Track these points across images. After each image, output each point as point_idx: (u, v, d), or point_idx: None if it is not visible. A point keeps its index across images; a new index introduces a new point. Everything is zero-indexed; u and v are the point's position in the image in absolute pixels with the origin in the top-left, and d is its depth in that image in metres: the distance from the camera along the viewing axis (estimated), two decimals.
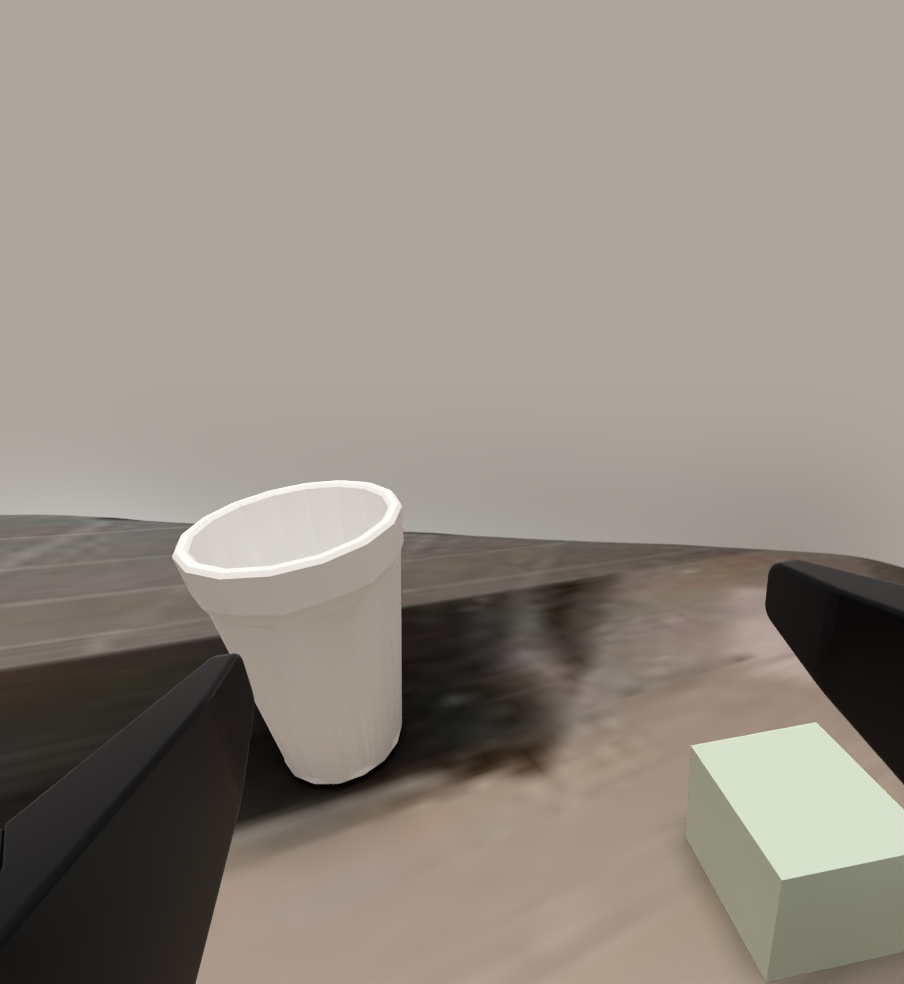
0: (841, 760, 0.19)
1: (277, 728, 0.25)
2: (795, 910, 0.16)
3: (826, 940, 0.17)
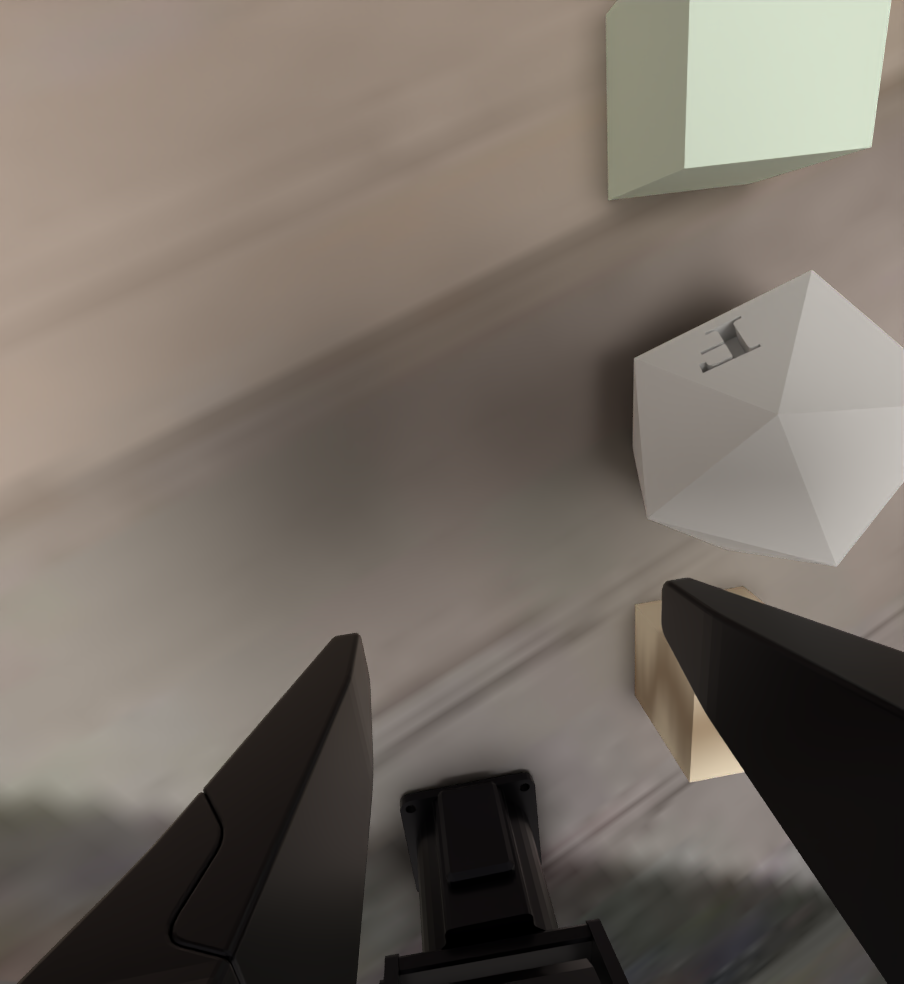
0: None
1: None
2: (676, 178, 0.15)
3: (685, 185, 0.17)
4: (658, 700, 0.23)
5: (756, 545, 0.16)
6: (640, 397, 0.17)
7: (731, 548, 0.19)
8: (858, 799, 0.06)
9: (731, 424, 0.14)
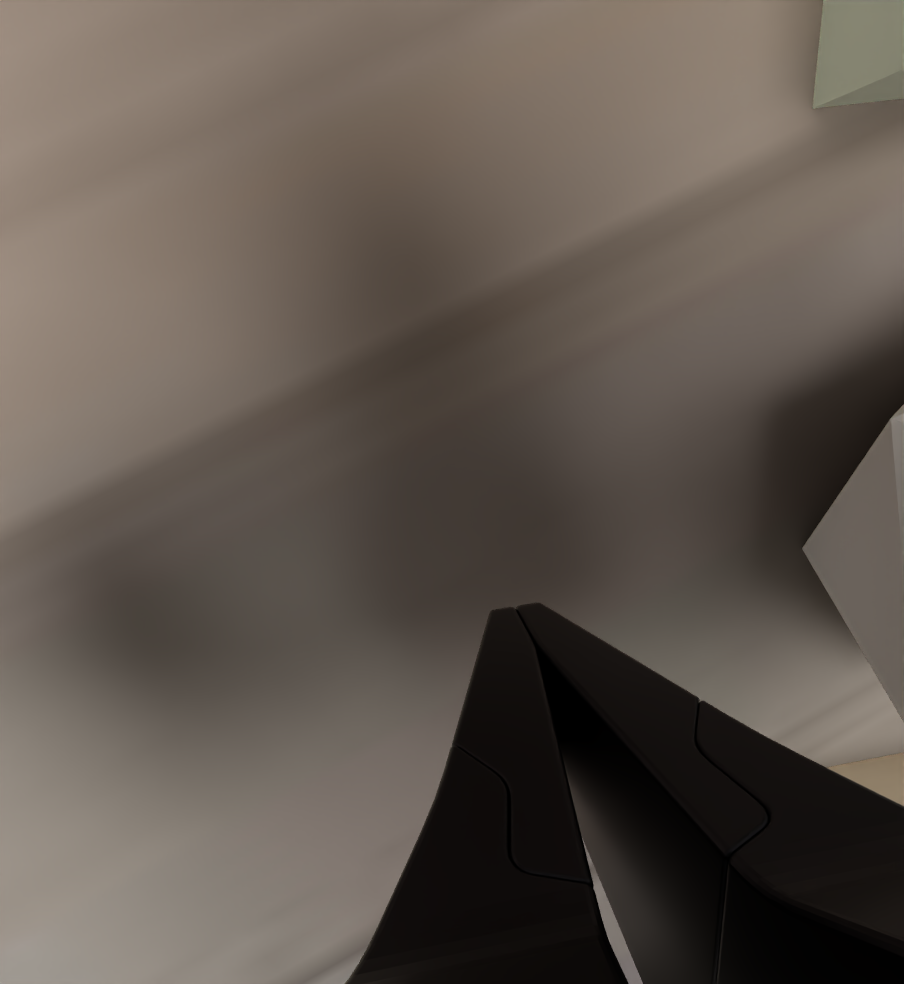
0: None
1: None
2: None
3: None
4: None
5: None
6: None
7: None
8: (629, 845, 0.06)
9: None
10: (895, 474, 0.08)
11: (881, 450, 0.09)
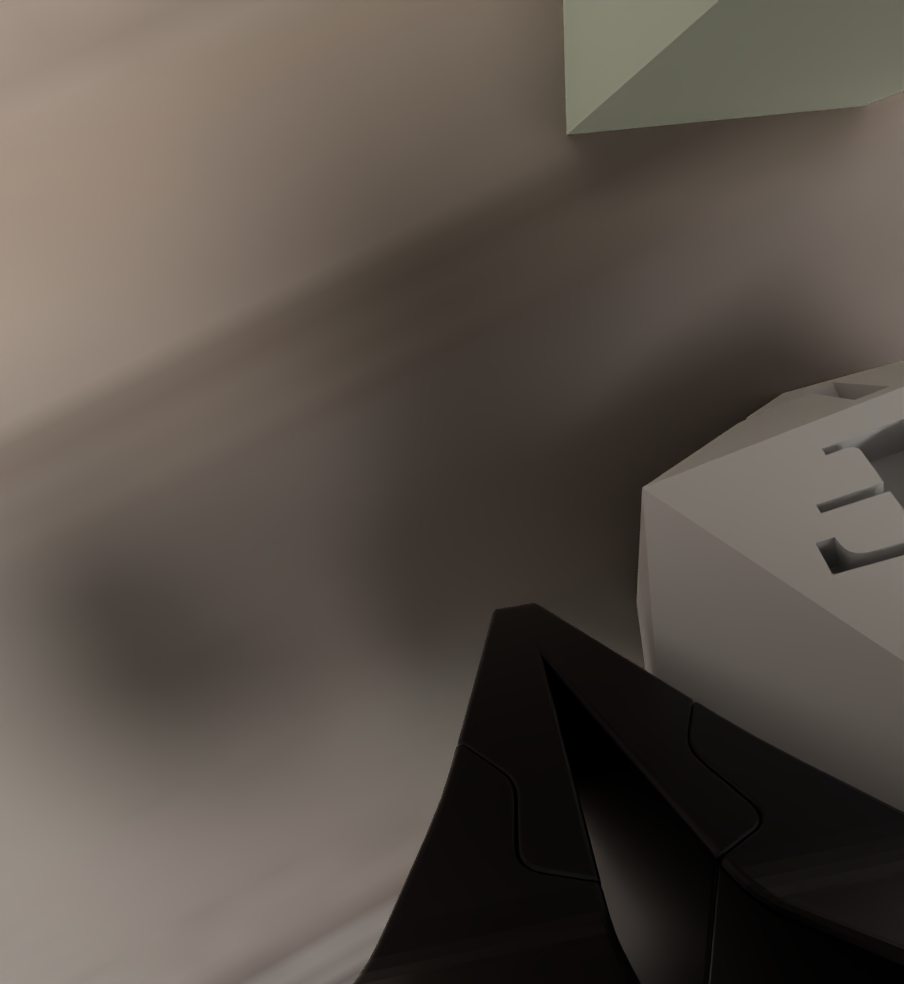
0: None
1: None
2: (731, 36, 0.05)
3: (739, 89, 0.07)
4: None
5: None
6: (657, 582, 0.07)
7: None
8: (623, 846, 0.06)
9: None
10: (649, 550, 0.07)
11: (642, 520, 0.08)
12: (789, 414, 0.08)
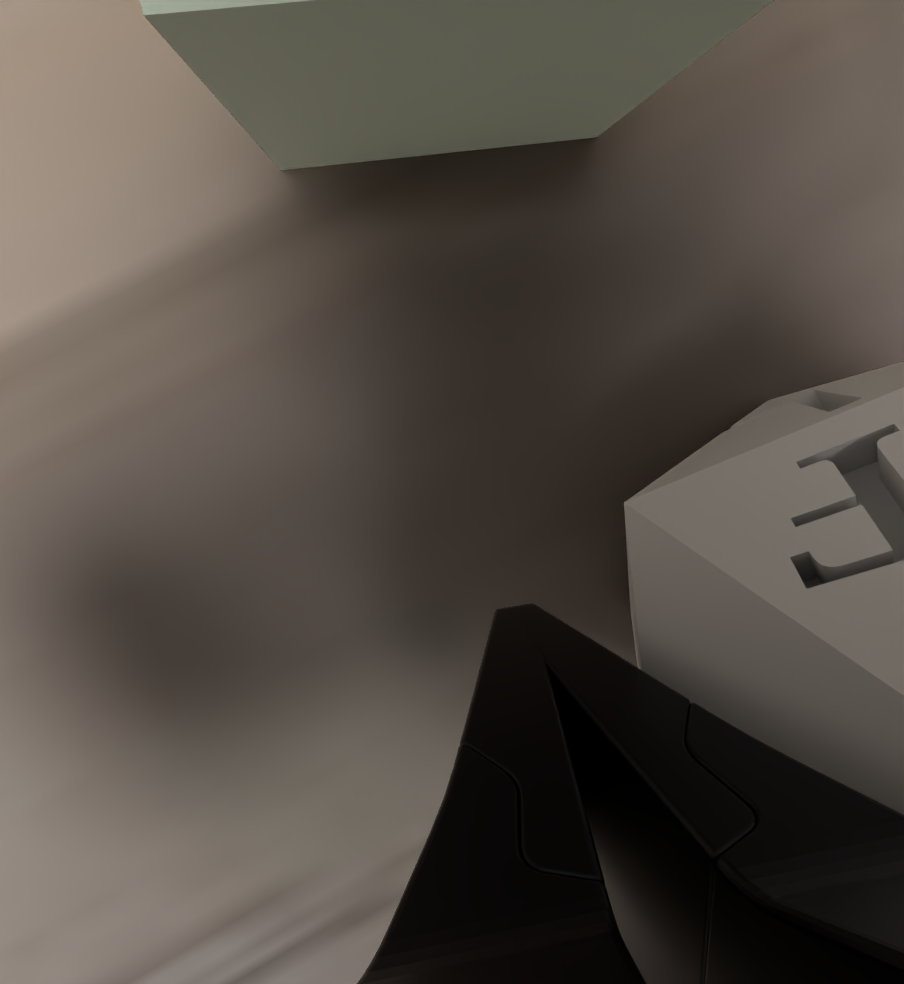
0: None
1: None
2: (276, 86, 0.05)
3: (403, 128, 0.07)
4: None
5: None
6: (642, 596, 0.07)
7: None
8: (620, 846, 0.06)
9: None
10: (633, 563, 0.08)
11: (626, 534, 0.08)
12: (769, 425, 0.08)
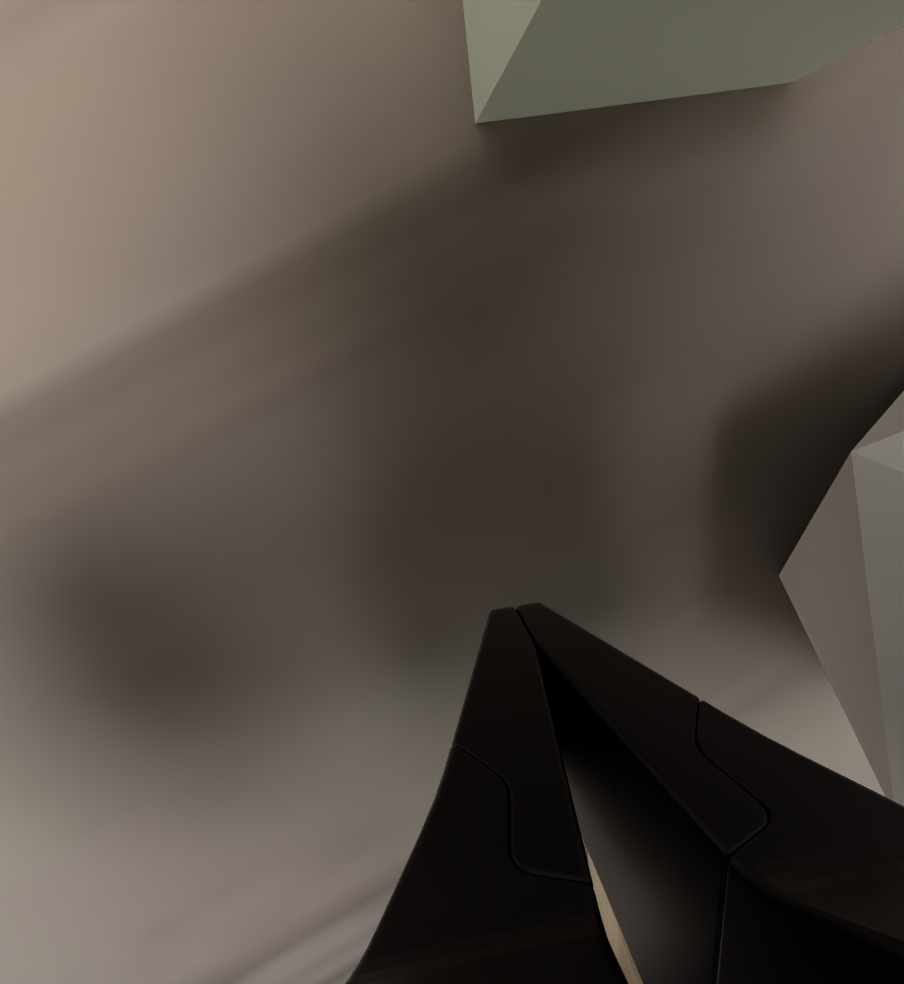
0: None
1: None
2: (597, 9, 0.05)
3: (640, 68, 0.07)
4: None
5: None
6: (874, 545, 0.07)
7: None
8: (629, 845, 0.06)
9: None
10: (859, 514, 0.07)
11: (844, 485, 0.08)
12: None
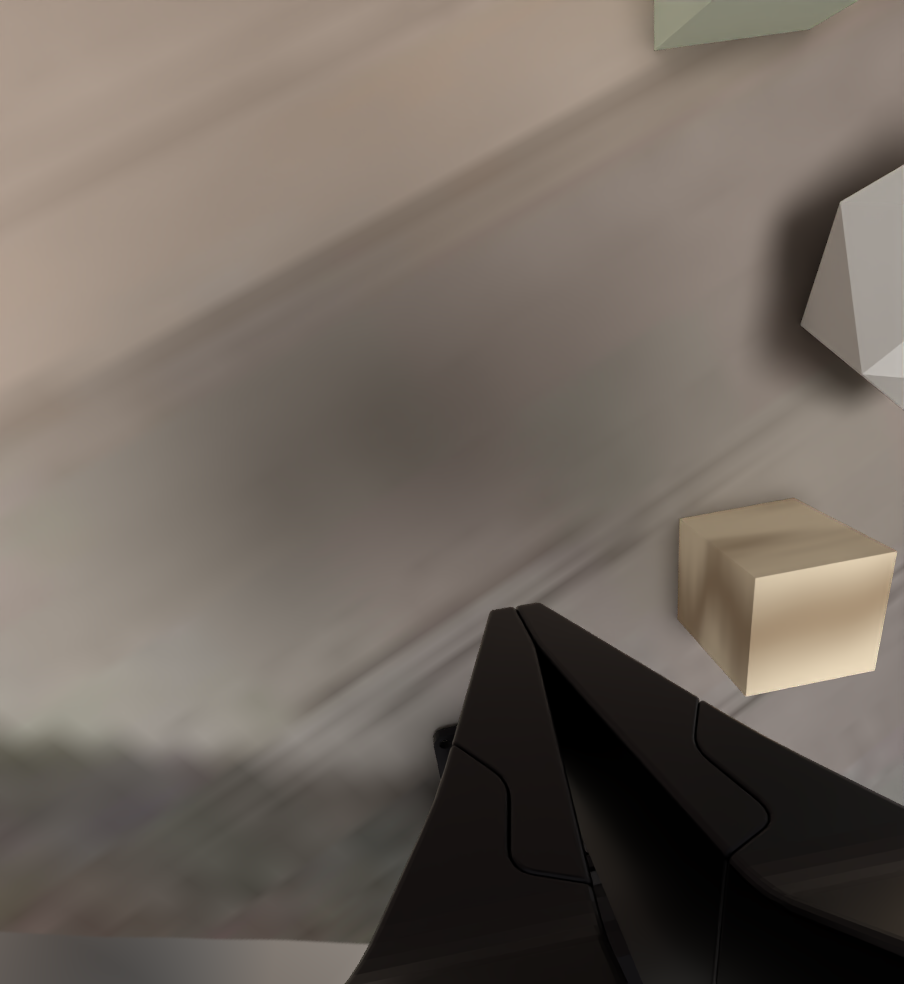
0: None
1: None
2: None
3: (744, 19, 0.15)
4: (707, 616, 0.21)
5: None
6: (851, 243, 0.16)
7: None
8: (629, 845, 0.06)
9: None
10: (844, 232, 0.16)
11: (837, 223, 0.16)
12: None
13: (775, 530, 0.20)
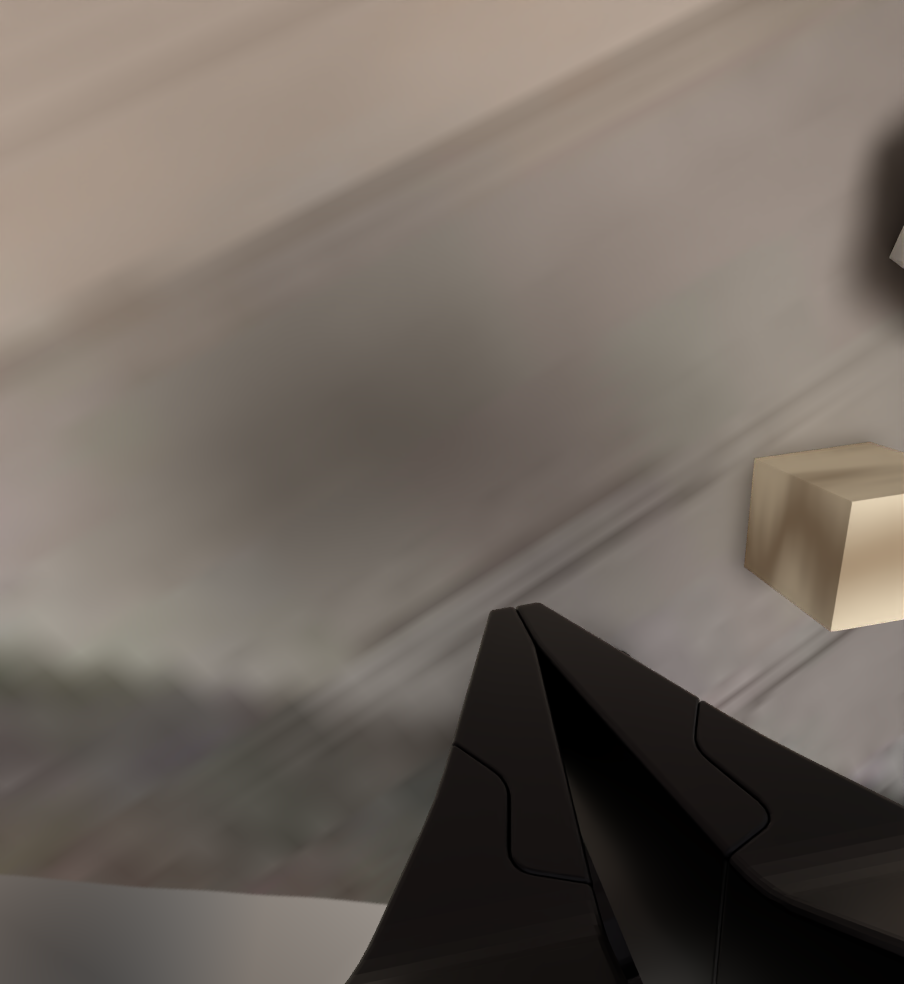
0: None
1: None
2: None
3: None
4: (784, 556, 0.21)
5: None
6: None
7: None
8: (629, 845, 0.06)
9: None
10: None
11: None
12: None
13: (859, 465, 0.20)
